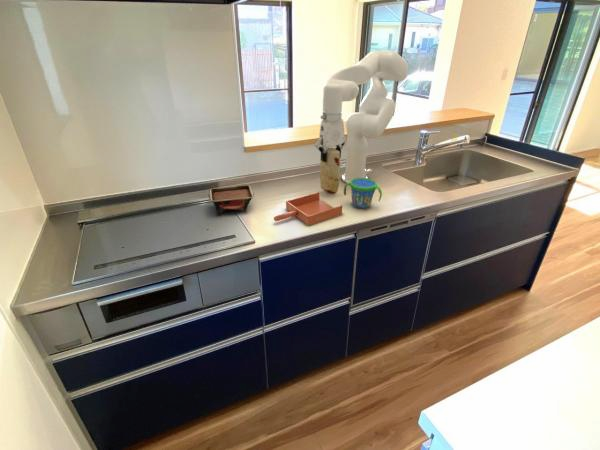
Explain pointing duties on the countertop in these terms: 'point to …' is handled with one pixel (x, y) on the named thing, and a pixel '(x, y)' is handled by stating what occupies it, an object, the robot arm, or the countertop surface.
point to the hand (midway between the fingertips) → (330, 159)
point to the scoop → (309, 209)
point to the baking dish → (231, 197)
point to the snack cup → (362, 191)
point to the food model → (330, 171)
